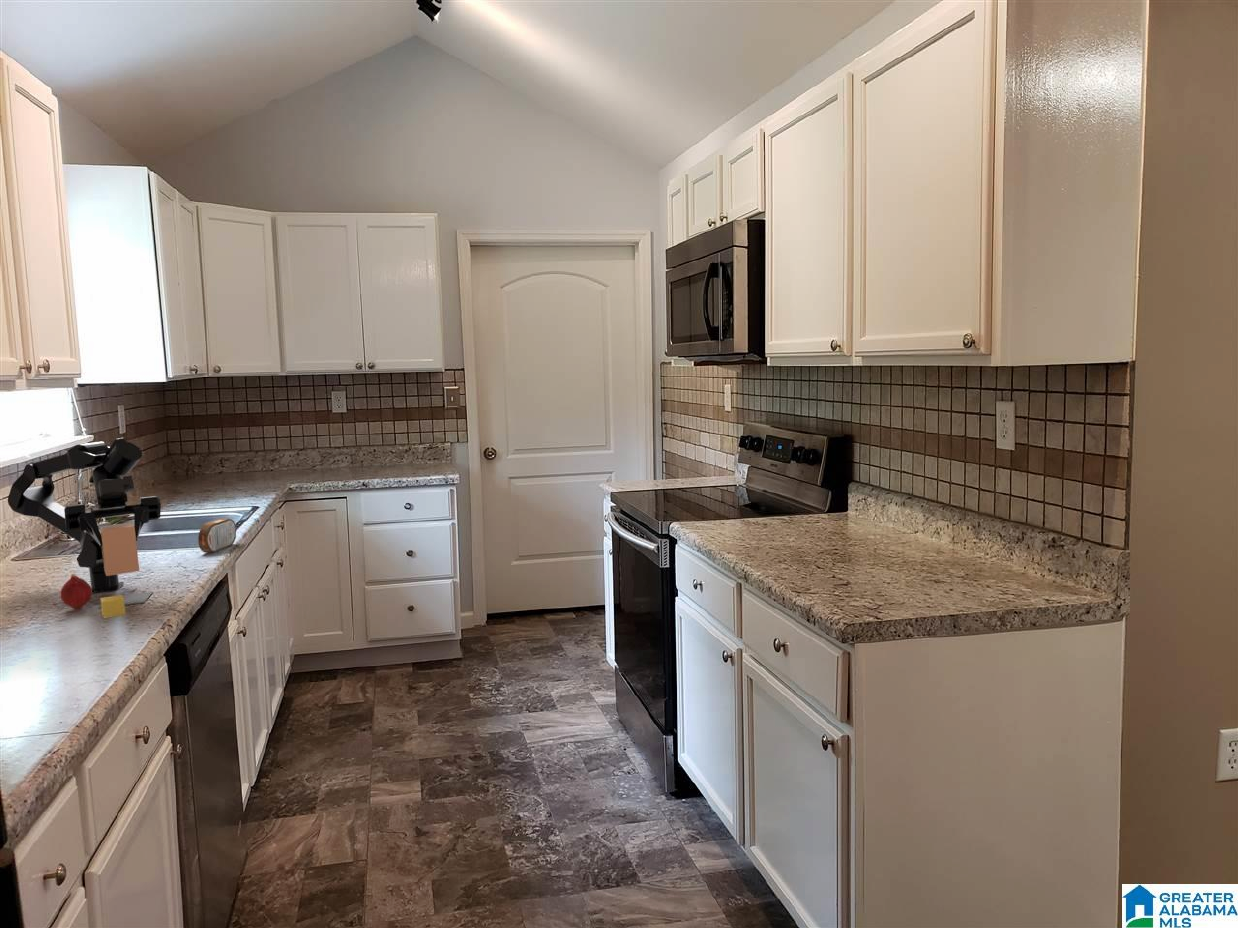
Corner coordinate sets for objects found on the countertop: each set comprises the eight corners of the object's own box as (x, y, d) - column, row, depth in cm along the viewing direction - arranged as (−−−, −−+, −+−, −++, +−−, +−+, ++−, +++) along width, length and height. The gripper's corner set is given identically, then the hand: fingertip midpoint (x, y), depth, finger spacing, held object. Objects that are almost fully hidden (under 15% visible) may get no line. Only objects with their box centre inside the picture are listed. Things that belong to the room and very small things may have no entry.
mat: (109, 597, 205) (109, 596, 205) (152, 593, 207) (152, 591, 207) (98, 608, 196) (98, 606, 196) (144, 603, 198) (143, 601, 198)
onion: (99, 605, 198) (94, 569, 197) (84, 612, 193) (80, 576, 192) (72, 606, 198) (67, 571, 197) (57, 614, 193) (52, 577, 191)
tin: (229, 543, 260) (226, 515, 259) (239, 543, 260) (236, 514, 259) (198, 556, 246) (195, 525, 244) (209, 555, 245) (206, 525, 244)
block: (102, 614, 192) (100, 598, 191) (123, 610, 194) (121, 594, 193) (103, 618, 188) (101, 602, 188) (125, 614, 191) (123, 598, 190)
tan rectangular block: (104, 570, 202) (99, 526, 200) (136, 565, 205) (131, 522, 204) (106, 576, 196) (101, 530, 195) (139, 571, 200) (134, 526, 198)
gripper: (59, 469, 196) (67, 527, 188) (155, 460, 206) (166, 515, 198) (62, 501, 203) (70, 557, 196) (154, 491, 213) (165, 544, 206)
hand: (119, 542), depth 199 cm, fingers closed on tan rectangular block, 6 cm apart
